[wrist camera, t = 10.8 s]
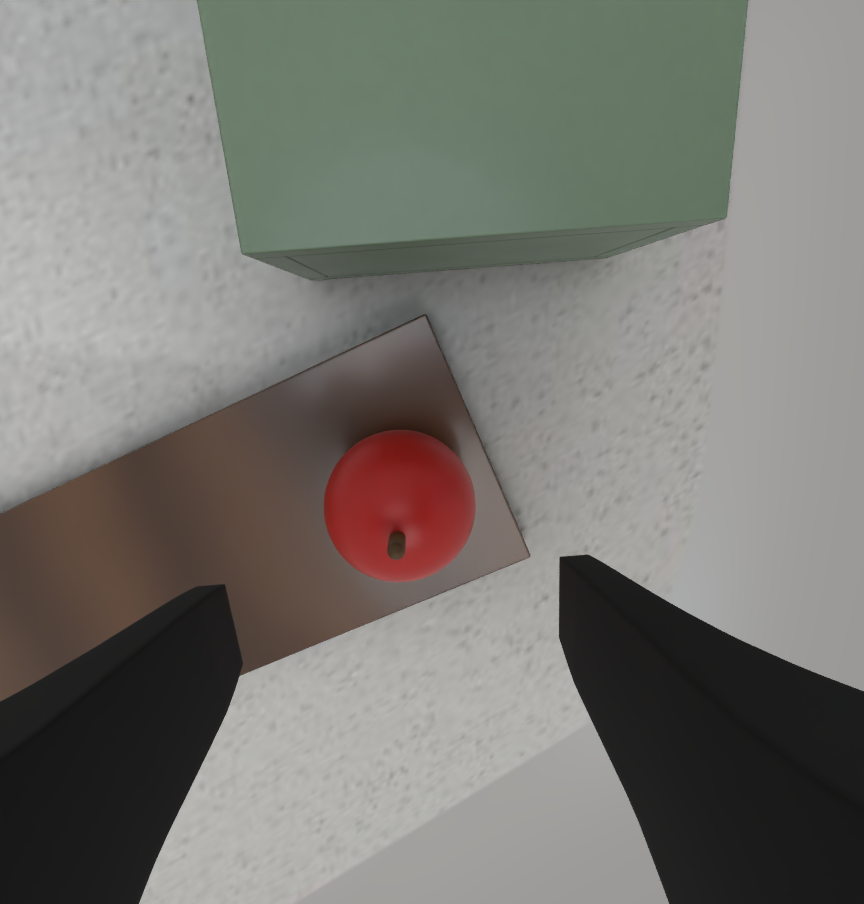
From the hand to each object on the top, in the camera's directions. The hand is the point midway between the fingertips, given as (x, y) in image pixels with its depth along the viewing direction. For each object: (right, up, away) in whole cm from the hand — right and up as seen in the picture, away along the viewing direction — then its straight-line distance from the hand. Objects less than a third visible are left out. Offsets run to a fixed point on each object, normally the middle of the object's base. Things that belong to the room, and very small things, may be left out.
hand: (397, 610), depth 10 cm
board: (-16, -4, +11) cm, 20 cm away
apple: (0, +2, +9) cm, 9 cm away
